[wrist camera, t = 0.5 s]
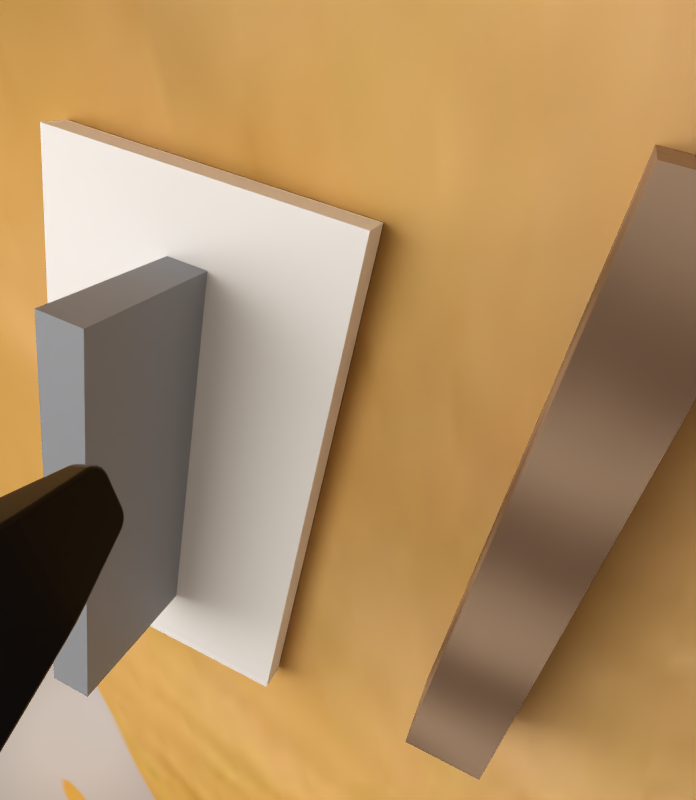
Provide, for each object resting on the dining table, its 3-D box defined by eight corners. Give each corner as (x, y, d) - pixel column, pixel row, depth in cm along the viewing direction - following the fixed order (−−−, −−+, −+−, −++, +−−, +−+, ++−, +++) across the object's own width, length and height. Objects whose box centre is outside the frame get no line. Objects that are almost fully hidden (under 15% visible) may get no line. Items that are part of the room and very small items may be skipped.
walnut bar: (496, 704, 27) (479, 779, 24) (429, 672, 28) (405, 741, 25) (779, 176, 16) (808, 200, 13) (655, 143, 17) (657, 159, 14)
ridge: (278, 667, 31) (196, 803, 26) (76, 563, 34) (-40, 665, 28) (383, 222, 20) (277, 286, 14) (66, 119, 23) (-132, 137, 17)
